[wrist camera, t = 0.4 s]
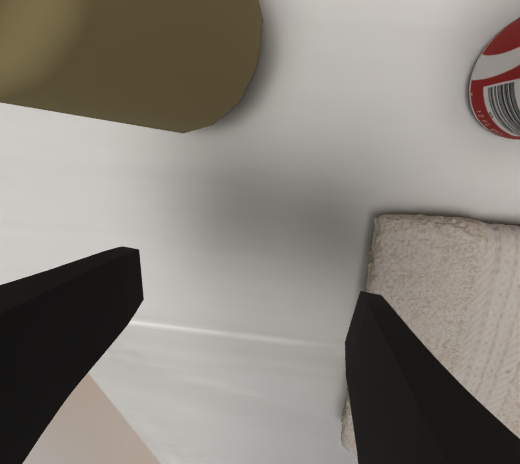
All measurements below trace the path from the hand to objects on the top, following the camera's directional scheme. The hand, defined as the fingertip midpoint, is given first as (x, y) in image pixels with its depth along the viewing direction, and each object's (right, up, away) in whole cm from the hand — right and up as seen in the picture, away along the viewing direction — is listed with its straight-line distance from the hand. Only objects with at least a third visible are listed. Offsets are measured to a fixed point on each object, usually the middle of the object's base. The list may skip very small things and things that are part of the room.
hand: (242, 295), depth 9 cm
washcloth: (+13, -5, +9) cm, 17 cm away
